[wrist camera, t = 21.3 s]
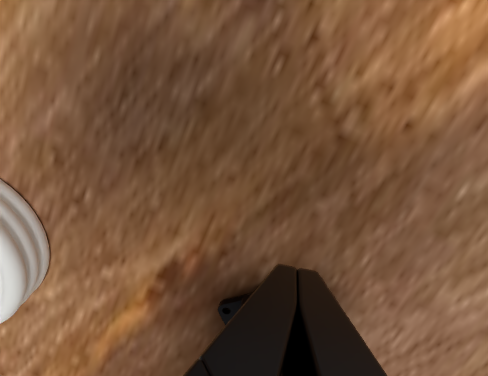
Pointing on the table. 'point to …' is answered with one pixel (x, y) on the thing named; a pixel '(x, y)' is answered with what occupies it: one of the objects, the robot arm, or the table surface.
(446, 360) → the table surface
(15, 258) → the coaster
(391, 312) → the table surface
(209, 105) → the table surface
